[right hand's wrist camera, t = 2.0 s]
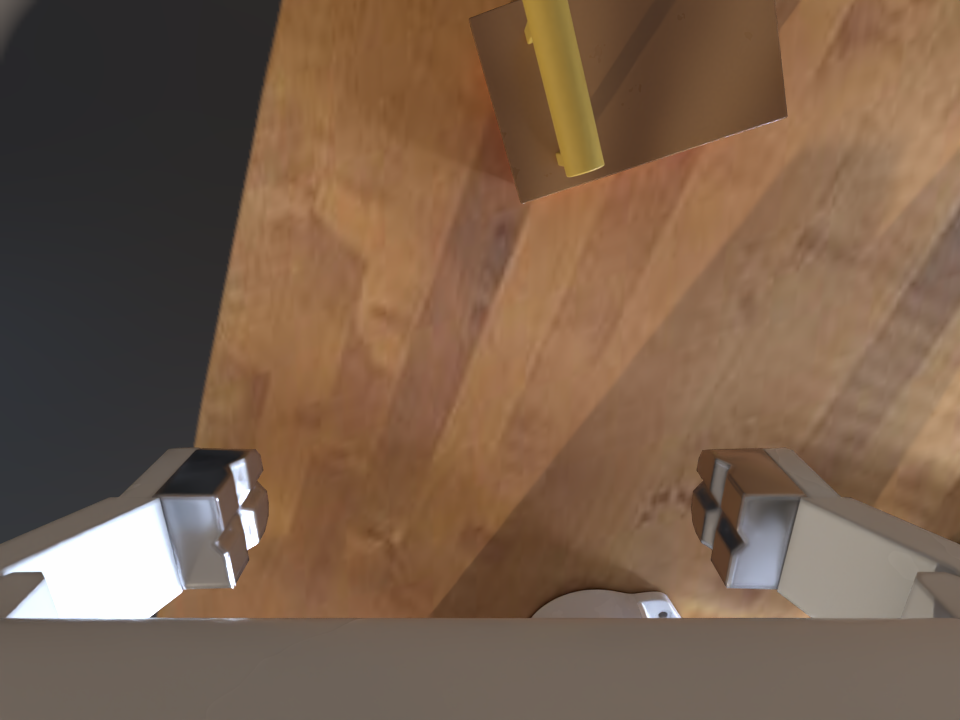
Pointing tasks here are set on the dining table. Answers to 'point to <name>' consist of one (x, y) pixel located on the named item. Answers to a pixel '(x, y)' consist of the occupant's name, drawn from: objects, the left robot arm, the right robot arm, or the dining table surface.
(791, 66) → the dining table surface
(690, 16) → the lid
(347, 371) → the dining table surface
